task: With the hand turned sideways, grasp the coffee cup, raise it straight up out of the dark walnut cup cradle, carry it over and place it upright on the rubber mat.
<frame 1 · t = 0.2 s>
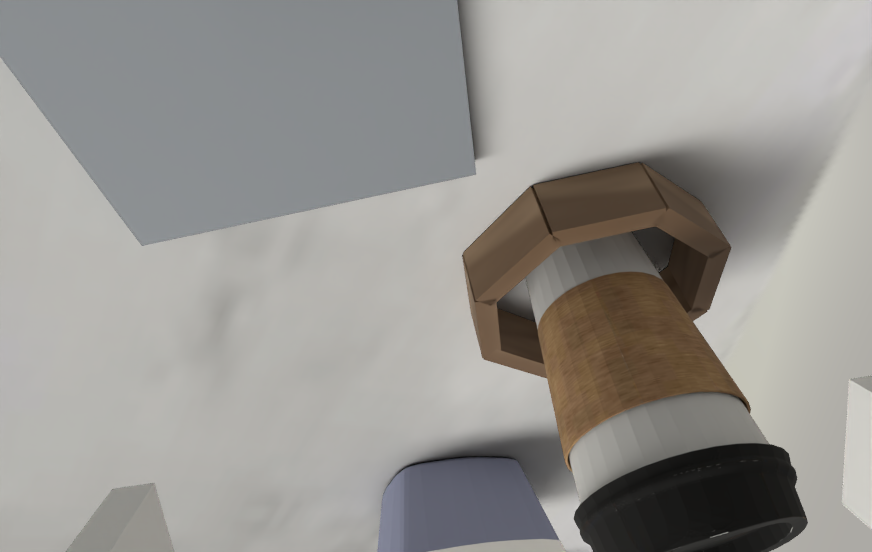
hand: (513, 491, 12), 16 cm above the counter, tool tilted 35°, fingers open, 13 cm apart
cup cradle: (579, 261, 32), on the counter
rubber mat: (246, 42, 20), on the counter
coffee cup: (578, 258, 32), resting in cup cradle
blue white tub: (449, 483, 52), on the counter
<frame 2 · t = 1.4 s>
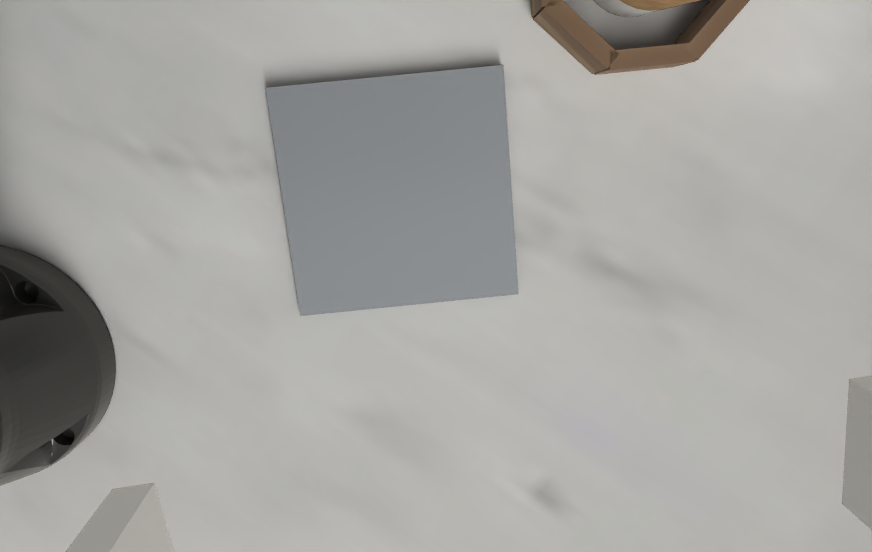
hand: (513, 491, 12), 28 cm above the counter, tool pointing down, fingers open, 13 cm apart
rubber mat: (397, 194, 38), on the counter
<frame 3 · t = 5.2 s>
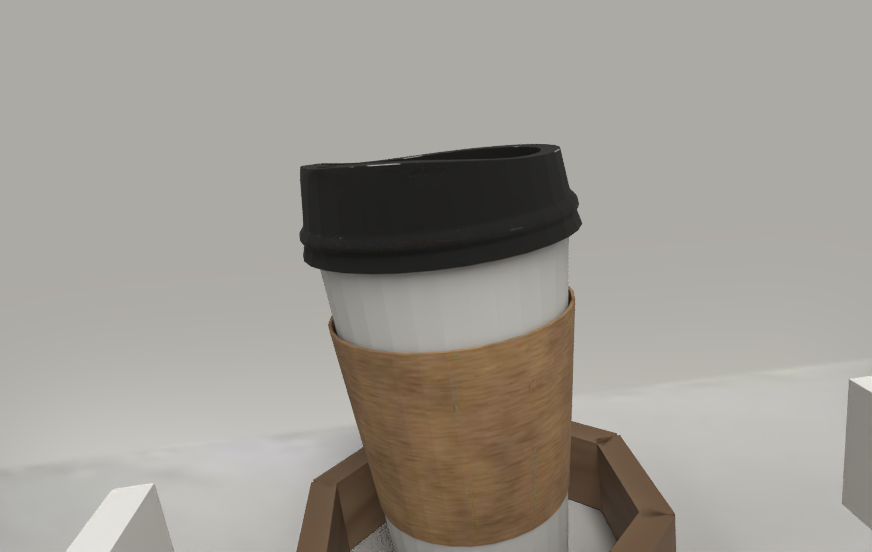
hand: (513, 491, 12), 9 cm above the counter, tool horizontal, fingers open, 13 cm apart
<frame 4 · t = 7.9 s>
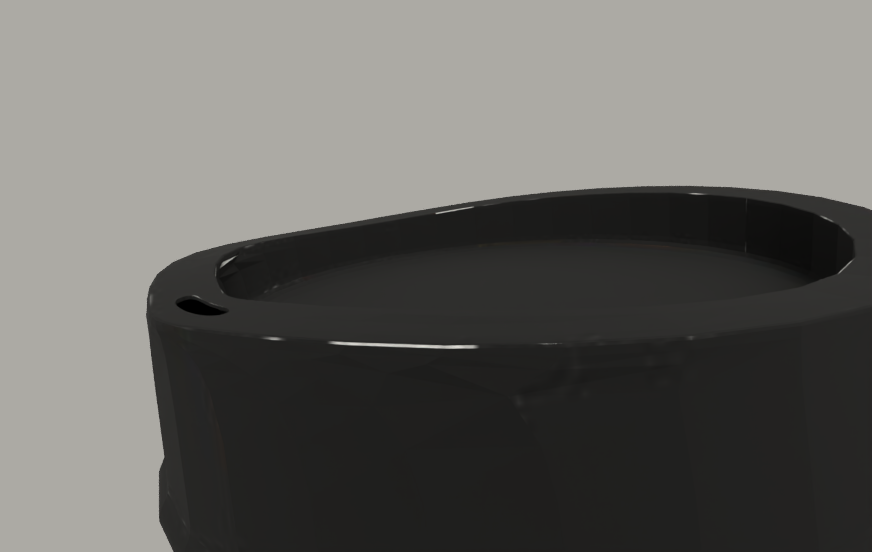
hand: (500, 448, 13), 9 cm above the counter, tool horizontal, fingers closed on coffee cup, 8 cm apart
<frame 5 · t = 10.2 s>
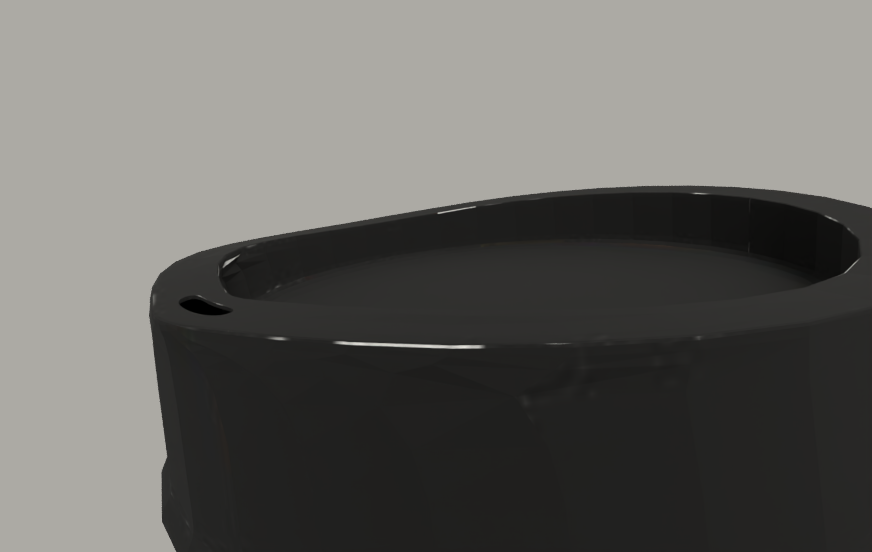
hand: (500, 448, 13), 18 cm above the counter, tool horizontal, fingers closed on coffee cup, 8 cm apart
when the fingers open (11 cm above the counter, at t = 12.6 s): coffee cup drops 2 cm, resting on rubber mat.
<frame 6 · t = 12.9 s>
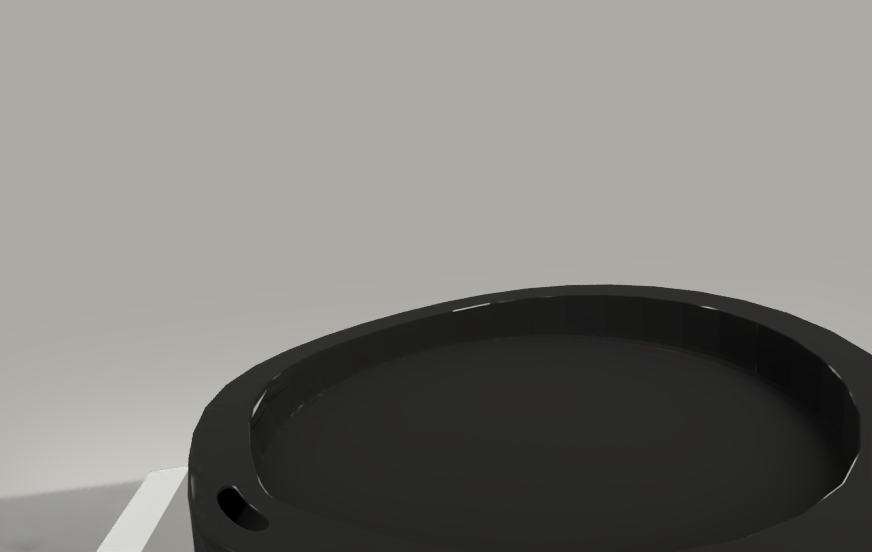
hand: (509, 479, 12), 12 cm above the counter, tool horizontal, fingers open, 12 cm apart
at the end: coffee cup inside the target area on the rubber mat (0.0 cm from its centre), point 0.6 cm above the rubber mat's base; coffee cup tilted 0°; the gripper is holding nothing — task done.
